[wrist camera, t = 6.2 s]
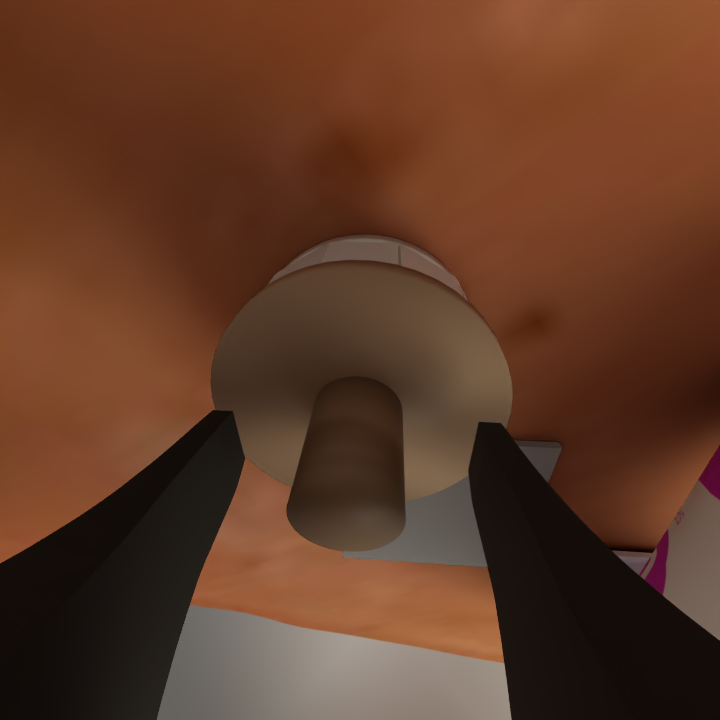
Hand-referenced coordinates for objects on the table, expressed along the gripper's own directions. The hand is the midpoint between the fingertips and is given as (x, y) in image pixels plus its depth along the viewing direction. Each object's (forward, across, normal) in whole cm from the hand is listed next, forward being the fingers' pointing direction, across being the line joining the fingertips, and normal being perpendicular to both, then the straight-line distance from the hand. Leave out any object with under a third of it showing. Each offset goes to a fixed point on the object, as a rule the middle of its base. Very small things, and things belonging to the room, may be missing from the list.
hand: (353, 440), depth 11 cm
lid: (+2, 0, 0) cm, 2 cm away
